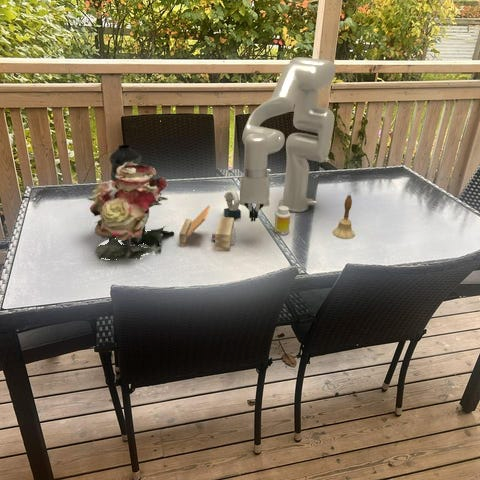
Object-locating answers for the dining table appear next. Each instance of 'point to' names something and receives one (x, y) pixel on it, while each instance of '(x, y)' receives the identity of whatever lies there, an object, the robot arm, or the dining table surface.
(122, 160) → the beer stein
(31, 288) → the dining table surface
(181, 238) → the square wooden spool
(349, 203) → the hand bell
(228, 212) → the watch
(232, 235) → the pin
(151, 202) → the rose bouquet
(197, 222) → the flap
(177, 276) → the dining table surface
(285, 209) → the supplement bottle
